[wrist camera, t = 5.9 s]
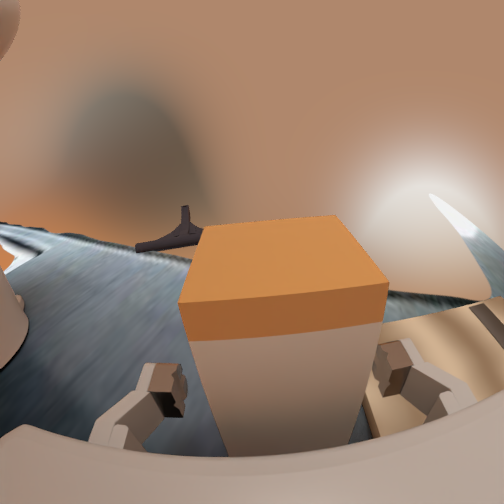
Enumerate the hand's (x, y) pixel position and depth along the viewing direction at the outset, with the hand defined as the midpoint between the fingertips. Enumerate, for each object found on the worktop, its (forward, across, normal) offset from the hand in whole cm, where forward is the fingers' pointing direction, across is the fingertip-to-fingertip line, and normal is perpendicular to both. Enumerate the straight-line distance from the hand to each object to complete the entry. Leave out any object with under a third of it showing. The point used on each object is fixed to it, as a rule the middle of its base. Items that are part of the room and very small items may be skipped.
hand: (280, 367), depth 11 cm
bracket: (+37, +12, +8) cm, 39 cm away
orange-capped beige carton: (0, 0, +7) cm, 7 cm away
